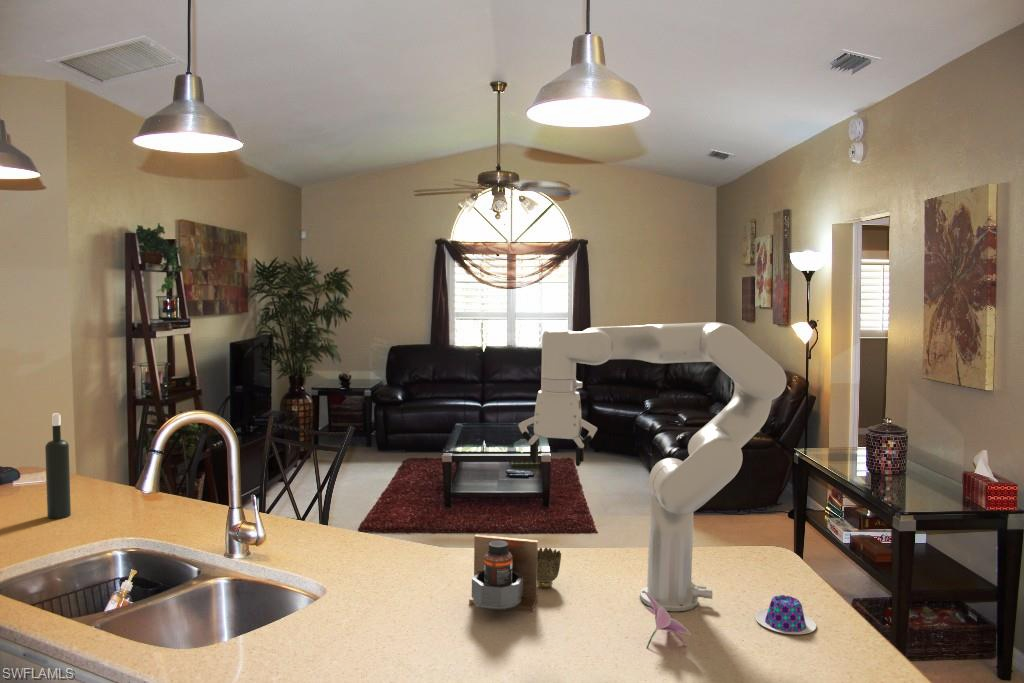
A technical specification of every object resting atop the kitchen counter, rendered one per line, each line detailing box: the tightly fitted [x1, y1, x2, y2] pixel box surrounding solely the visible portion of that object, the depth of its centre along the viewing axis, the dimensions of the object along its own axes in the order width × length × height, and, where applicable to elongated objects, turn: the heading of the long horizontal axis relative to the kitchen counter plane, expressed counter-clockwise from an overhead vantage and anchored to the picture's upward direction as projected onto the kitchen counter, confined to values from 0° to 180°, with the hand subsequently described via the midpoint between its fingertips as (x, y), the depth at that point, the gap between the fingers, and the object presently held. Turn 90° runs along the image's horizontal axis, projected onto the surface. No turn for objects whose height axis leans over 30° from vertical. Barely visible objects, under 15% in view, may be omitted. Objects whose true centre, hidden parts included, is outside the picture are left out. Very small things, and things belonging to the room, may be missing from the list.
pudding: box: [754, 594, 817, 635], centre depth 157 cm, size 12×12×5 cm
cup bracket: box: [468, 534, 539, 613], centre depth 160 cm, size 14×14×14 cm
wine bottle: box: [44, 412, 72, 520], centre depth 217 cm, size 6×6×30 cm
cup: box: [537, 547, 562, 590], centre depth 173 cm, size 8×7×8 cm
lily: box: [643, 590, 692, 649], centre depth 147 cm, size 12×12×10 cm
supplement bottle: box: [484, 541, 512, 586], centre depth 158 cm, size 6×6×11 cm
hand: (556, 463), depth 166 cm, fingers open, 9 cm apart
